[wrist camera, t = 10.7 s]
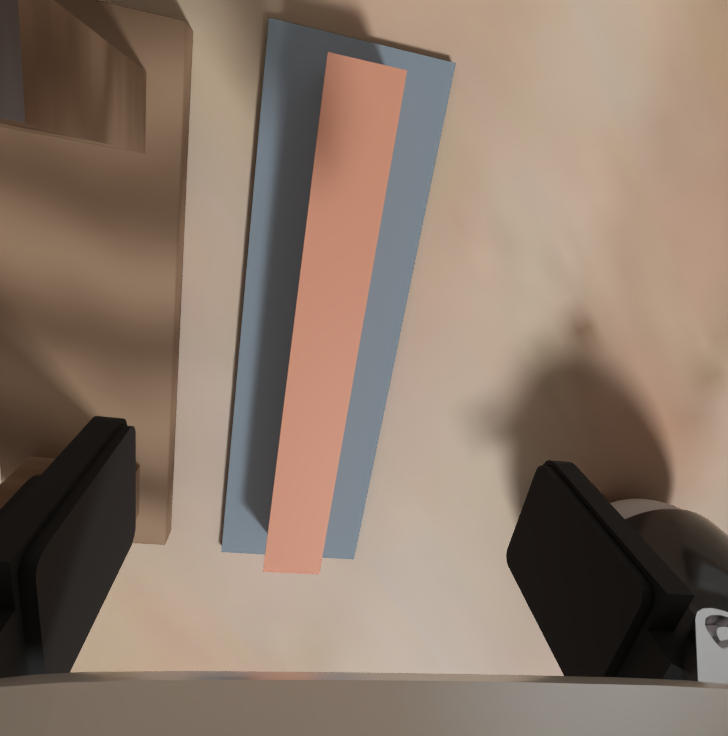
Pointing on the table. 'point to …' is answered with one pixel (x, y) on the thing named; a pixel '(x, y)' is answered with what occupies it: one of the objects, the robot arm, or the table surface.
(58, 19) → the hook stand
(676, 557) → the pump dispenser
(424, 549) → the table surface
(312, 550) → the rail
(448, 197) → the table surface
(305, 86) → the mat
